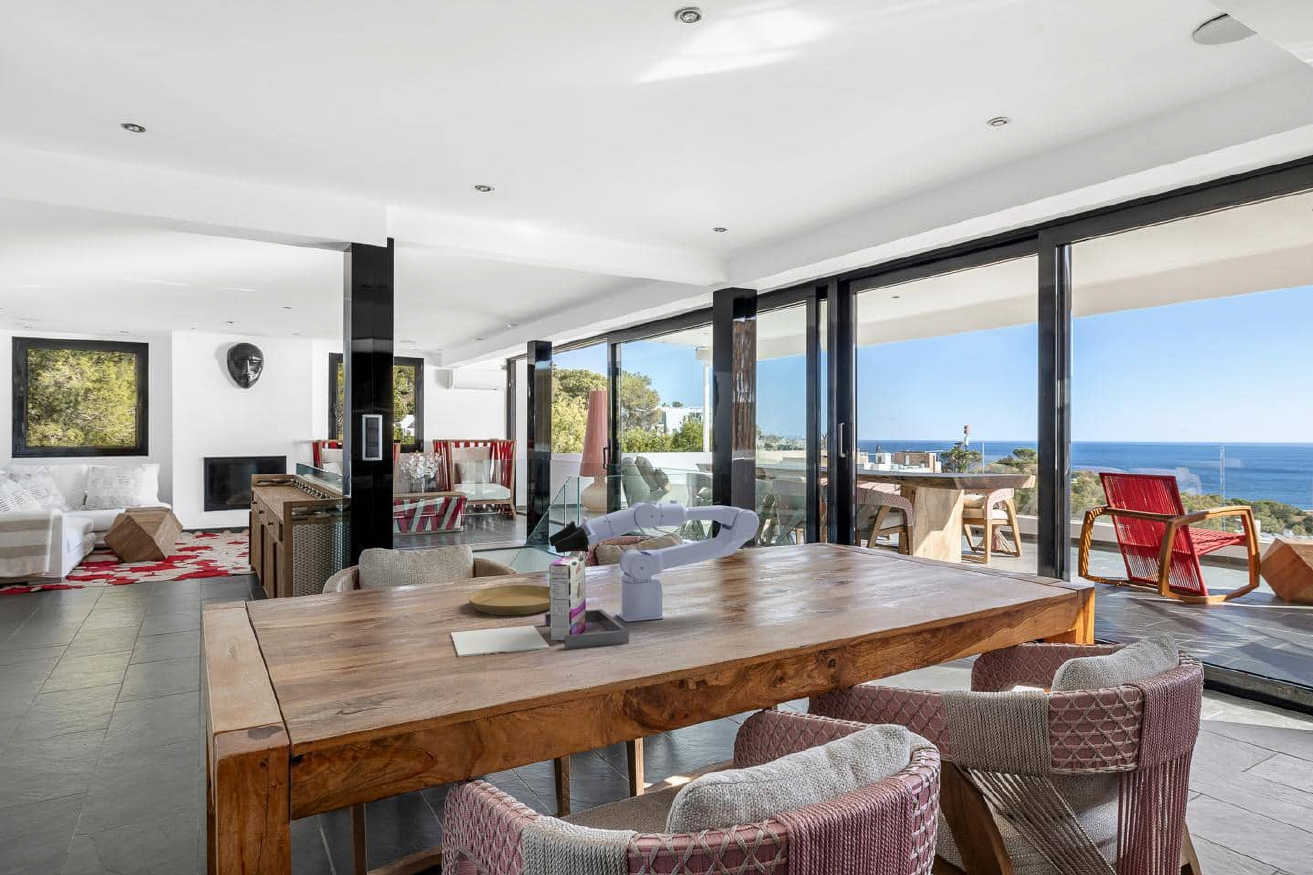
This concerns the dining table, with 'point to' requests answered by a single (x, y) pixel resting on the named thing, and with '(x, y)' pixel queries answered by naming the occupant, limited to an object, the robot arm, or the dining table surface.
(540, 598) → the plant saucer
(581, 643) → the gray u-shaped frame
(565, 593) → the candy bar box
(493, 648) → the mat
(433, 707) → the dining table surface
